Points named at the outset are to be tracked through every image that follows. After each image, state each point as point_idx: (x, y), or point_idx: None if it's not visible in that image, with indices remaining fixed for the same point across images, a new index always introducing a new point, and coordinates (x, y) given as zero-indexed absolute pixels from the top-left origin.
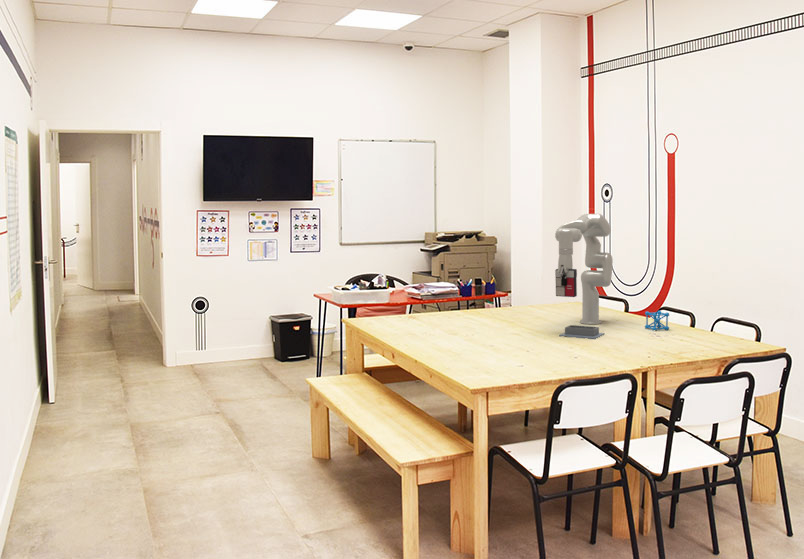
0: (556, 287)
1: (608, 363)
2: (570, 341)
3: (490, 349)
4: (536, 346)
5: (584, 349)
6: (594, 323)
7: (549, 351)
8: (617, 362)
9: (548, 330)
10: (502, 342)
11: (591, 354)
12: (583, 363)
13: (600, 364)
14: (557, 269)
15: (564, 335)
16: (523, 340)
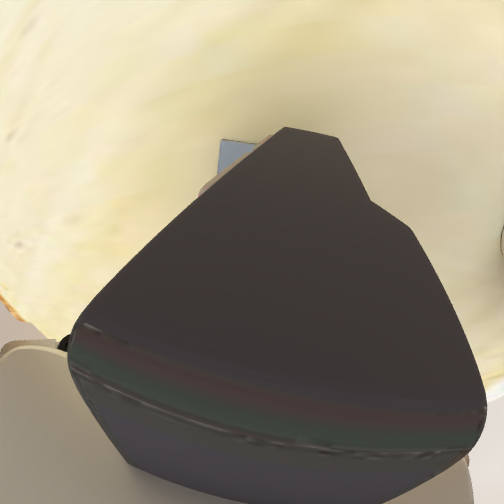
0: (251, 152)
1: (24, 295)
2: (143, 201)
3: (2, 54)
4: (48, 130)
5: (73, 253)
6: (502, 248)
7: (25, 182)
8: (35, 307)
9: (358, 70)
10: (65, 18)
11: (48, 270)
12: (4, 261)
13: (14, 284)
14: (96, 419)
15: (218, 163)
16: (104, 50)
